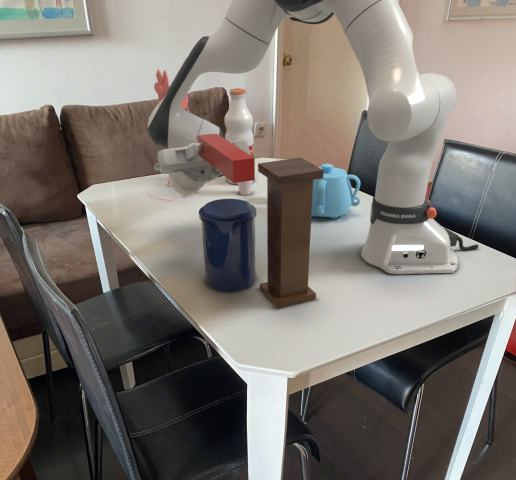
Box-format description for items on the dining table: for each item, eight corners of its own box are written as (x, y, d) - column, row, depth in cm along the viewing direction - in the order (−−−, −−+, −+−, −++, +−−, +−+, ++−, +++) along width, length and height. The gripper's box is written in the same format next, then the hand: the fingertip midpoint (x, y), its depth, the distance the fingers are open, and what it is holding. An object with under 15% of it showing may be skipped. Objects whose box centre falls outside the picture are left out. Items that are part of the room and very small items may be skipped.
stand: (259, 289, 110) (257, 163, 94) (296, 281, 113) (300, 157, 97) (277, 309, 103) (278, 176, 87) (315, 299, 106) (323, 169, 90)
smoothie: (256, 190, 163) (255, 145, 155) (254, 196, 158) (253, 150, 150) (236, 189, 163) (235, 144, 155) (234, 196, 158) (232, 150, 150)
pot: (261, 269, 118) (260, 198, 108) (252, 295, 108) (250, 219, 98) (211, 266, 119) (206, 195, 109) (198, 290, 110) (191, 216, 100)
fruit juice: (232, 175, 176) (228, 86, 159) (257, 177, 173) (256, 87, 157) (223, 184, 168) (218, 91, 152) (250, 186, 166) (247, 92, 150)
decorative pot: (335, 199, 155) (338, 154, 147) (363, 217, 143) (368, 168, 135) (287, 207, 150) (288, 160, 142) (312, 226, 138) (314, 176, 130)
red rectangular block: (198, 155, 106) (197, 135, 103) (217, 153, 107) (216, 133, 105) (233, 183, 91) (232, 160, 89) (254, 180, 92) (254, 157, 90)
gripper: (149, 156, 112) (159, 135, 99) (234, 145, 119) (254, 124, 106) (155, 184, 113) (166, 167, 100) (240, 172, 119) (260, 155, 106)
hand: (212, 145), depth 103 cm, fingers closed on red rectangular block, 4 cm apart
